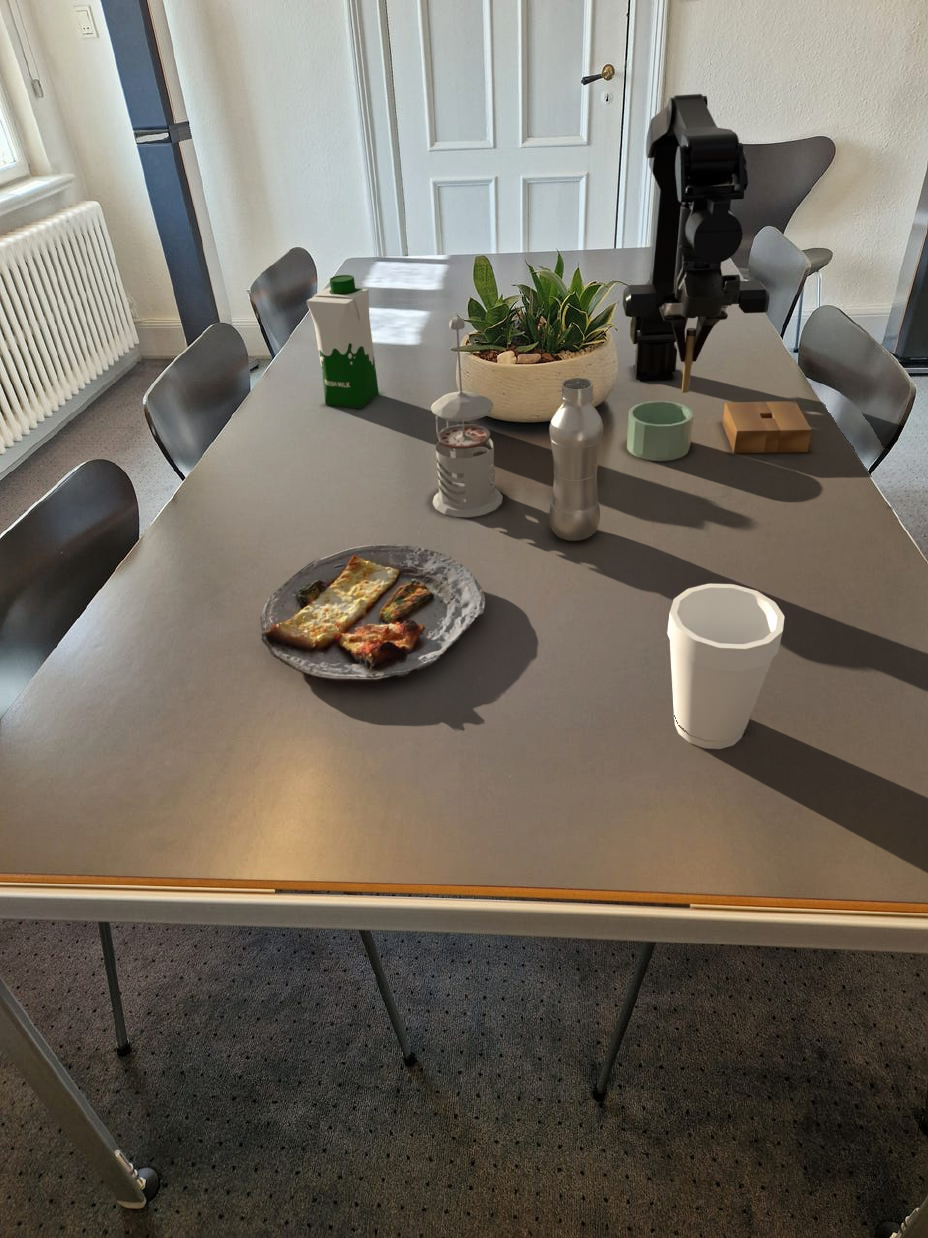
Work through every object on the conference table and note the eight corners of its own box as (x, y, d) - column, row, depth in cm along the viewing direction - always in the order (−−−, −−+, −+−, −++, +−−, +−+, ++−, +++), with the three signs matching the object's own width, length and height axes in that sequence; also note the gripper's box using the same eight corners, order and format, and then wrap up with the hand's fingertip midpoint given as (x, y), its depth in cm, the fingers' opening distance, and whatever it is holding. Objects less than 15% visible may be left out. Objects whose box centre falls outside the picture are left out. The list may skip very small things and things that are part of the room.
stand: (733, 453, 125) (736, 430, 123) (722, 423, 133) (725, 402, 131) (807, 452, 124) (812, 429, 122) (791, 422, 132) (795, 400, 130)
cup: (629, 461, 125) (631, 426, 121) (624, 434, 132) (627, 401, 129) (693, 460, 124) (697, 425, 120) (685, 433, 131) (688, 399, 128)
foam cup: (647, 696, 84) (658, 588, 76) (739, 687, 84) (759, 578, 76) (674, 766, 76) (689, 654, 68) (776, 756, 77) (802, 643, 69)
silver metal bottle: (606, 525, 111) (613, 375, 99) (589, 551, 106) (595, 397, 94) (559, 517, 113) (560, 370, 101) (541, 542, 108) (540, 391, 96)
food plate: (391, 722, 83) (387, 695, 81) (220, 651, 93) (213, 626, 91) (516, 592, 99) (515, 567, 97) (359, 544, 110) (355, 521, 108)
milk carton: (385, 392, 152) (372, 275, 140) (362, 411, 145) (345, 291, 133) (342, 387, 155) (325, 272, 143) (317, 406, 148) (297, 288, 136)
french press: (452, 524, 113) (438, 336, 98) (415, 489, 121) (397, 311, 106) (515, 504, 116) (511, 319, 101) (476, 472, 125) (466, 297, 110)
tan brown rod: (681, 393, 122) (687, 330, 117) (679, 389, 123) (686, 327, 118) (690, 393, 122) (696, 330, 117) (688, 389, 123) (695, 327, 118)
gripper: (632, 262, 105) (625, 383, 115) (787, 256, 104) (767, 380, 113) (625, 240, 114) (619, 355, 124) (768, 234, 113) (751, 351, 122)
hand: (687, 360), depth 120 cm, fingers closed on tan brown rod, 1 cm apart
